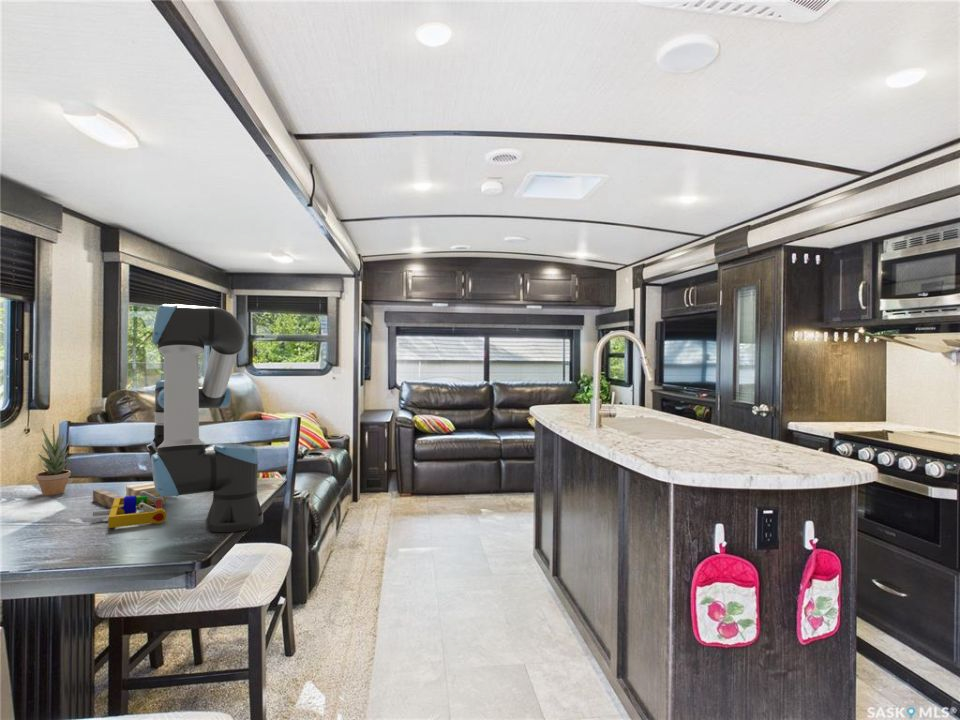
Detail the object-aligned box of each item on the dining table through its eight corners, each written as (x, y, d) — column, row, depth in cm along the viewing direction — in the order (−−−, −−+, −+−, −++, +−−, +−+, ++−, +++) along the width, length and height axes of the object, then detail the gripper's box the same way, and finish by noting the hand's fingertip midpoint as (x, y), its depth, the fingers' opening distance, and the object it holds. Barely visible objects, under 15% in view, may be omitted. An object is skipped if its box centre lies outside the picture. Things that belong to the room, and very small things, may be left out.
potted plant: (29, 494, 180) (30, 423, 181) (60, 489, 189) (61, 421, 189) (46, 498, 177) (48, 425, 177) (77, 492, 185) (78, 422, 186)
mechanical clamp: (165, 482, 176) (167, 502, 151) (165, 501, 176) (166, 523, 150) (99, 487, 167) (88, 509, 141) (98, 507, 166) (87, 532, 141)
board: (124, 508, 166) (124, 497, 166) (115, 510, 164) (115, 499, 164) (101, 499, 176) (101, 489, 176) (92, 500, 174) (93, 490, 174)
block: (164, 497, 181) (164, 485, 181) (135, 502, 174) (135, 490, 174) (155, 493, 187) (155, 481, 187) (126, 497, 180) (126, 486, 180)
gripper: (181, 421, 192) (179, 485, 192) (142, 424, 182) (140, 492, 181) (191, 423, 188) (189, 488, 188) (151, 426, 177) (150, 495, 177)
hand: (165, 490), depth 185 cm, fingers closed
